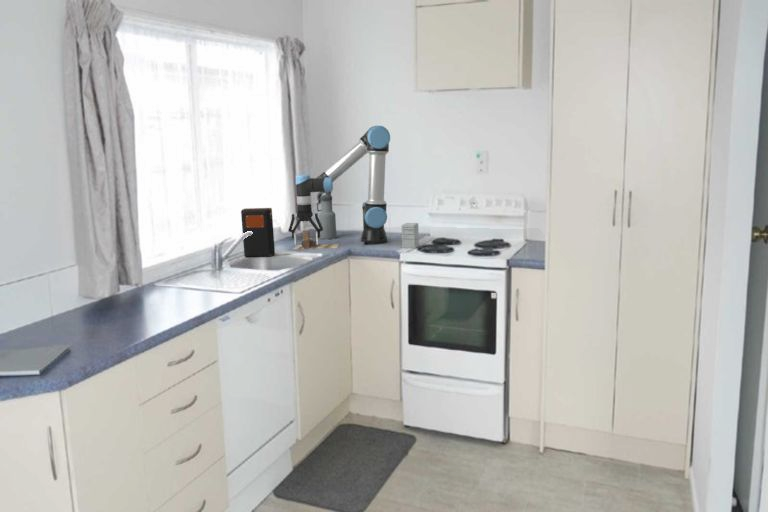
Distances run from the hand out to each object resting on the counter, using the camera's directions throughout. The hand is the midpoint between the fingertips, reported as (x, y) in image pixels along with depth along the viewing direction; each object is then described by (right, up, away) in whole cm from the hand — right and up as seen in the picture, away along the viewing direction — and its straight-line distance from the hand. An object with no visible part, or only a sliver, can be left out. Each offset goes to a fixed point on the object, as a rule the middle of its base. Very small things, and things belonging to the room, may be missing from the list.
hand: (306, 244), depth 372 cm
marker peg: (0, -2, 0) cm, 2 cm away
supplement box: (+56, -2, -2) cm, 56 cm away
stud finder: (+1, -1, +6) cm, 6 cm away
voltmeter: (-24, -6, -10) cm, 26 cm away
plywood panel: (+5, -2, +4) cm, 7 cm away
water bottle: (+9, +4, +37) cm, 38 cm away
